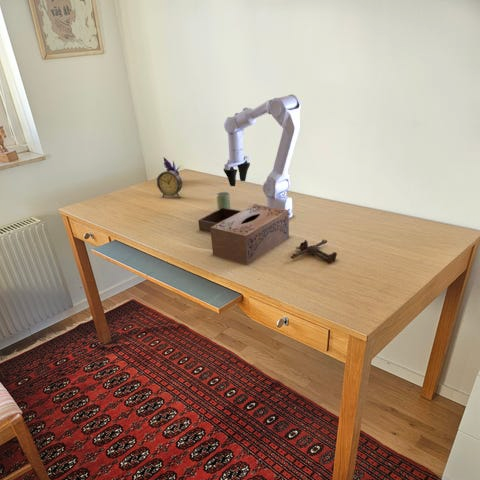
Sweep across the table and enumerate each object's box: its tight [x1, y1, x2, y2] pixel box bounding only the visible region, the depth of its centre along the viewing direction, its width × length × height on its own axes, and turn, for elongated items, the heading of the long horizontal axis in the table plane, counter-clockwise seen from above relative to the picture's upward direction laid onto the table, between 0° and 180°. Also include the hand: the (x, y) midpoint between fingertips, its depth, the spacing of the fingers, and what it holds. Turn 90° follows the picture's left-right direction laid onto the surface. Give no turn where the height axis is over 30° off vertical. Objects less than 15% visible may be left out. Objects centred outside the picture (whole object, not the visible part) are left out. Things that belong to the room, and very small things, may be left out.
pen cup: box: [216, 191, 231, 210], centre depth 182 cm, size 5×5×8 cm
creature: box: [156, 157, 181, 180], centre depth 222 cm, size 9×18×12 cm, turn 140°
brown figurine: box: [290, 238, 338, 264], centre depth 145 cm, size 18×4×14 cm
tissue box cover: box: [210, 203, 290, 266], centre depth 153 cm, size 26×14×10 cm, turn 144°
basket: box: [197, 208, 242, 234], centre depth 170 cm, size 14×15×4 cm
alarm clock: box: [156, 160, 183, 198], centre depth 202 cm, size 11×5×16 cm, turn 73°
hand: (237, 183), depth 183 cm, fingers open, 7 cm apart
